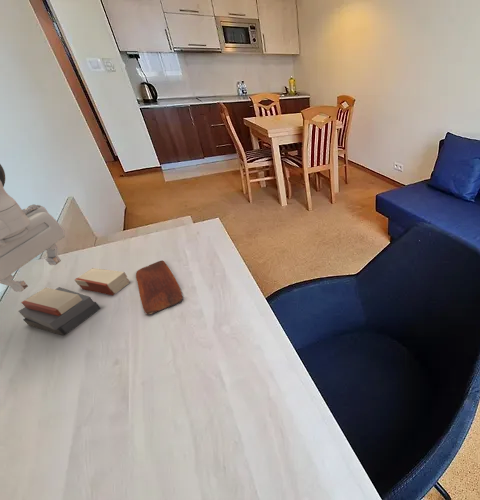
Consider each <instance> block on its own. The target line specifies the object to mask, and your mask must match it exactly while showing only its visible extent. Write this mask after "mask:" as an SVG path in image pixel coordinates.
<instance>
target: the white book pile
mask: <svg viewBox="0 0 480 500" xmlns="http://www.w3.org/2000/svg"><path fill="white" fill-rule="evenodd" d="M74 282H75V283H76V284H77V285H78V286H79V287H80V288H81V289H82V290H84V291H88V292H93V293H98V294H102V295H108V296H113V297H114V296H115V294H117V293H119V291H121V290H122V289H124V288H125V287H126V286H127V285H129V284H130V283H131V282H130V280H129V278H128V276H127V274H126V272H125V271H119V270H111V269H104V268H98V267H97V268H96V267H91V268H90V269H88V270H87V271H86V272H84V273H83V274H80V275H79V276H77V277H76V278H75V279H74Z"/></svg>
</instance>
